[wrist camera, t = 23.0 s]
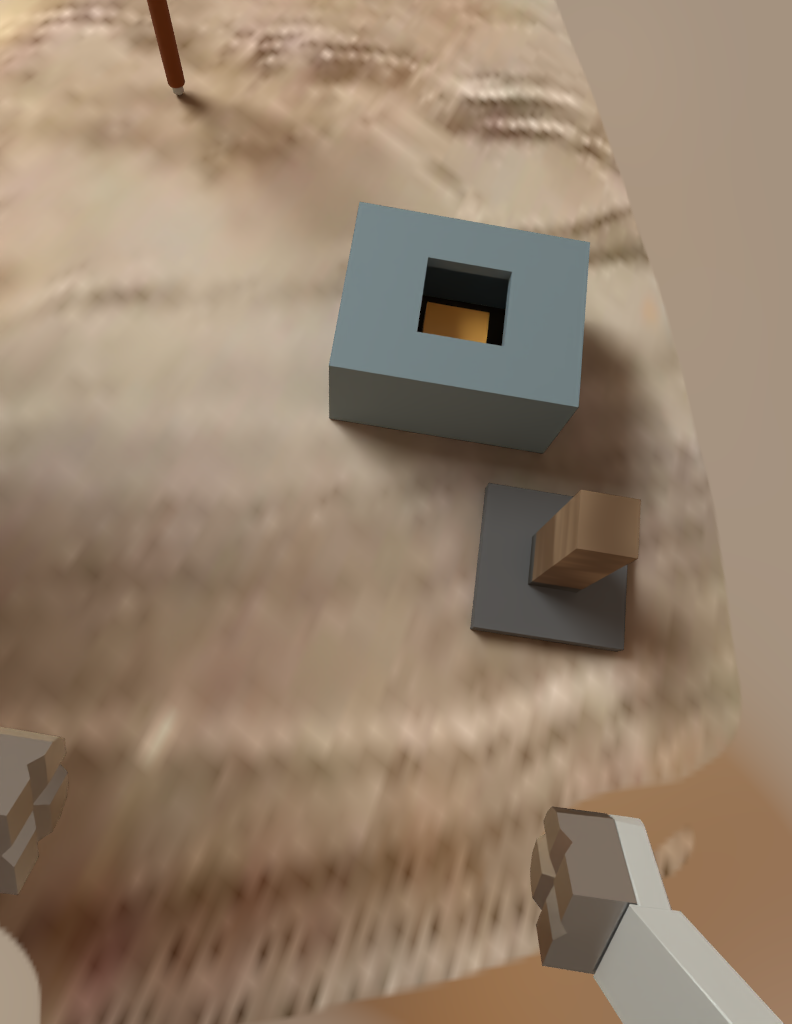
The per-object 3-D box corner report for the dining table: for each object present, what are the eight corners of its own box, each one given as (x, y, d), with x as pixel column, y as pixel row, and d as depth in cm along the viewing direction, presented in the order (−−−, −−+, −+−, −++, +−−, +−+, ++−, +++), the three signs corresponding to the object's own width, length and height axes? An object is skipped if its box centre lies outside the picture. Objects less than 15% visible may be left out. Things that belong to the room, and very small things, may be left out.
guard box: (329, 418, 46) (328, 365, 39) (355, 273, 49) (359, 201, 42) (543, 453, 46) (578, 407, 40) (555, 307, 50) (589, 242, 43)
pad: (470, 628, 43) (473, 626, 42) (485, 488, 45) (488, 482, 44) (617, 651, 43) (623, 649, 42) (623, 510, 46) (629, 505, 45)
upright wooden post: (527, 584, 43) (576, 548, 34) (532, 536, 44) (581, 489, 35) (576, 592, 43) (638, 558, 34) (580, 544, 44) (640, 499, 35)
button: (414, 377, 46) (419, 357, 44) (422, 324, 48) (427, 301, 45) (475, 387, 47) (483, 368, 44) (481, 334, 48) (489, 312, 45)
